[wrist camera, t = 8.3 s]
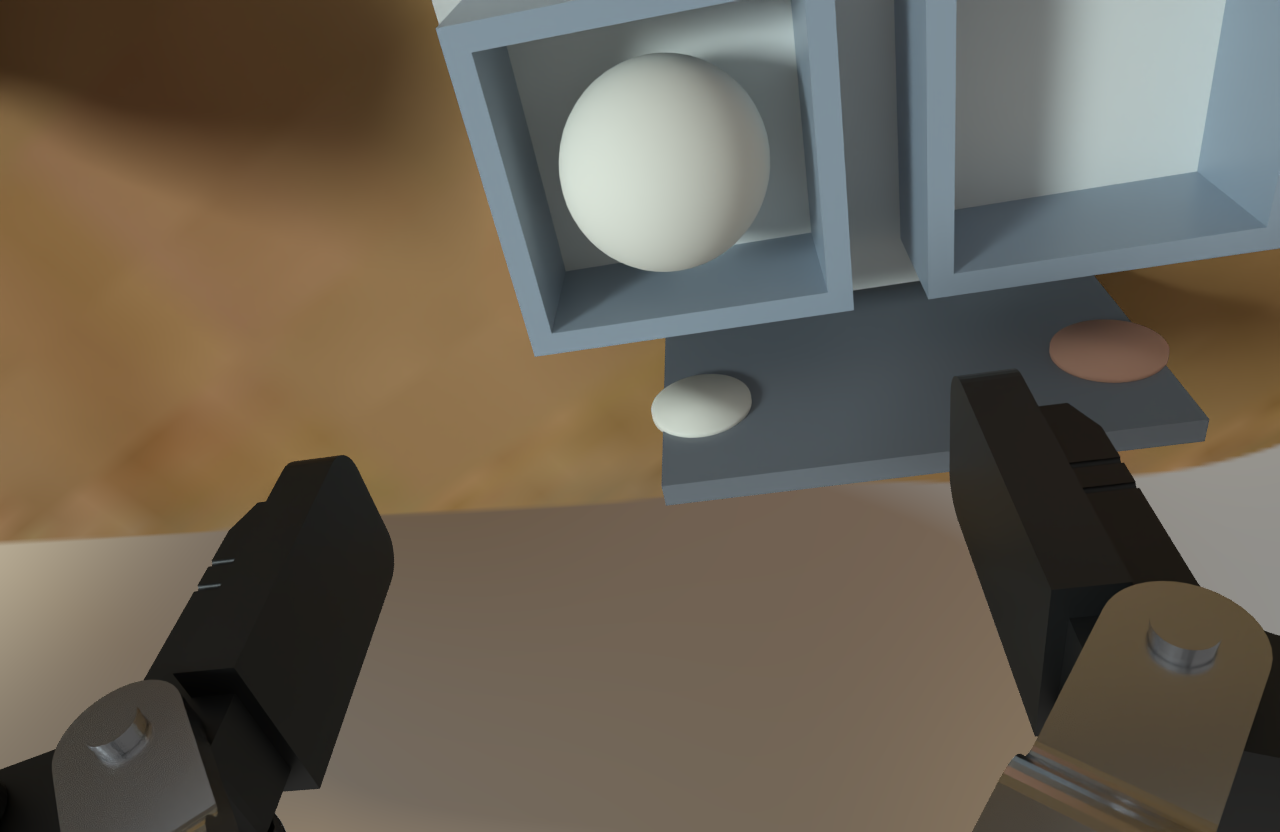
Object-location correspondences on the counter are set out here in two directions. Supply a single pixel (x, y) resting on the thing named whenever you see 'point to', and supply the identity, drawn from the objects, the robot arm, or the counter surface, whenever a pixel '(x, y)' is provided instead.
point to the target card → (900, 385)
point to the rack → (888, 147)
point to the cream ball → (664, 162)
